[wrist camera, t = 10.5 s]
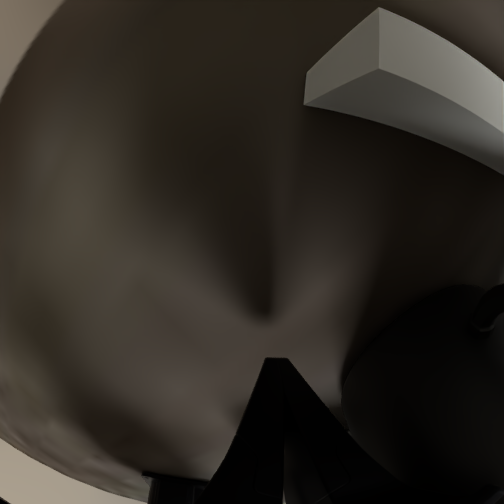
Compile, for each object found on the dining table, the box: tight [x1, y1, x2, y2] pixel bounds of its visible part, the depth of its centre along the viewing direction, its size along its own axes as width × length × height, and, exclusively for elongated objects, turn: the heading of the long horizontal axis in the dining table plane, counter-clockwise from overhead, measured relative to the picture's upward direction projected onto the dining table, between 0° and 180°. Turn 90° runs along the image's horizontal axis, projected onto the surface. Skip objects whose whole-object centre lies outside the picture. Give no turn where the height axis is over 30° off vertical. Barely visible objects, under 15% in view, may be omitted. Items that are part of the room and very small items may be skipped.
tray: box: [283, 7, 504, 504], centre depth 8 cm, size 18×14×4 cm
